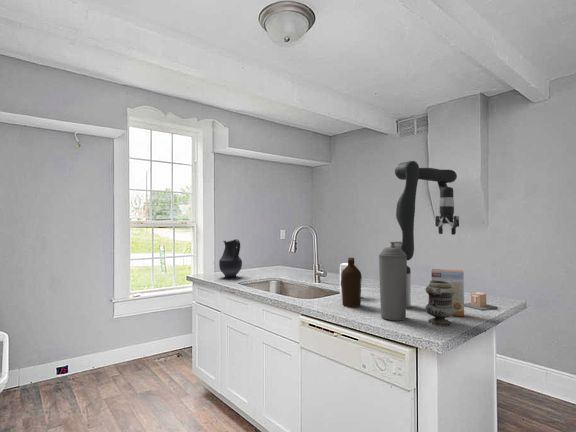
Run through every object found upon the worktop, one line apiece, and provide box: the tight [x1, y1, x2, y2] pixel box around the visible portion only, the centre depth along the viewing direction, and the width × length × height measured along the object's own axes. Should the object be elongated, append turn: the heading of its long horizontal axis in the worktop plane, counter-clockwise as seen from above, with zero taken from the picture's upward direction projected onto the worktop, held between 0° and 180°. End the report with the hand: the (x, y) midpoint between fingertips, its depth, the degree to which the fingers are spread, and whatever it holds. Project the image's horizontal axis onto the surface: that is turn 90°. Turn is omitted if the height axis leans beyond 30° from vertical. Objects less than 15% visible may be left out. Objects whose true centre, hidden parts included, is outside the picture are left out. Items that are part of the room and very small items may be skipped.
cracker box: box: [431, 268, 465, 318], centre depth 172 cm, size 14×6×21 cm, turn 65°
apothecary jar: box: [424, 279, 455, 327], centre depth 158 cm, size 12×12×18 cm
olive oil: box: [341, 257, 363, 308], centre depth 190 cm, size 11×11×25 cm
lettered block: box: [470, 291, 487, 307], centre depth 185 cm, size 5×5×6 cm
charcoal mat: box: [464, 302, 498, 312], centre depth 185 cm, size 12×12×1 cm
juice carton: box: [339, 262, 357, 297], centre depth 212 cm, size 8×9×19 cm
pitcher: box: [218, 238, 243, 280], centre depth 278 cm, size 17×21×30 cm
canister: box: [378, 241, 408, 321], centre depth 166 cm, size 13×13×35 cm
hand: (447, 234), depth 205 cm, fingers open, 8 cm apart
